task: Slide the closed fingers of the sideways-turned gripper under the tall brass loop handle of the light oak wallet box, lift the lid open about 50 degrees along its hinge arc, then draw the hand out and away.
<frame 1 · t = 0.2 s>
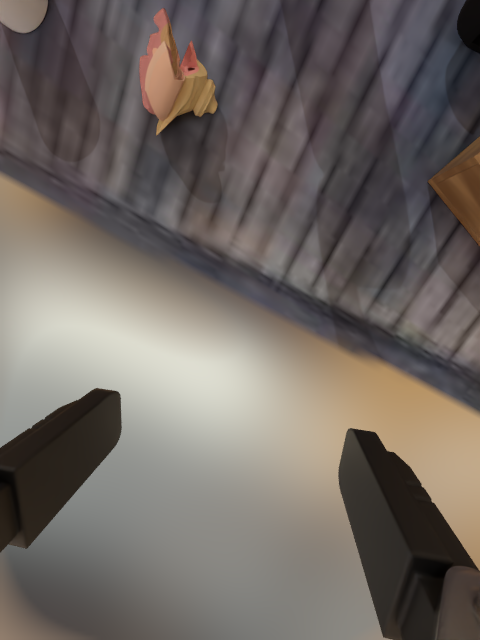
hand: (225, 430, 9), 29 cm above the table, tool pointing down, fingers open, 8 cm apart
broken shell: (181, 106, 33), on the table
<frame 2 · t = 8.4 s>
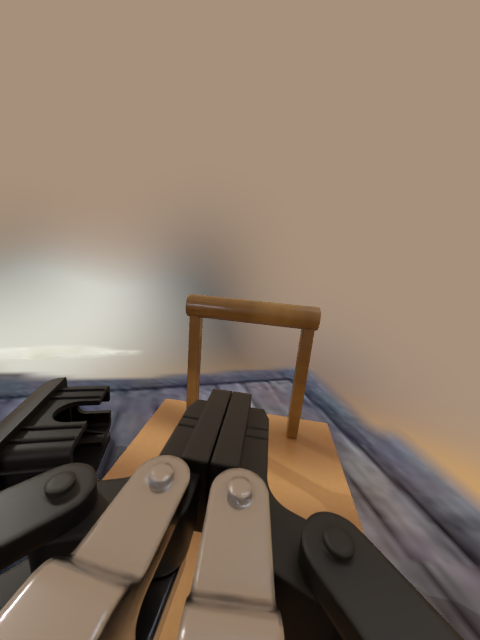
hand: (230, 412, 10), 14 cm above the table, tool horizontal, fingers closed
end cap: (52, 476, 21), on the table
box lid: (229, 438, 10), point 12 cm above the table, hinge at 0.0°
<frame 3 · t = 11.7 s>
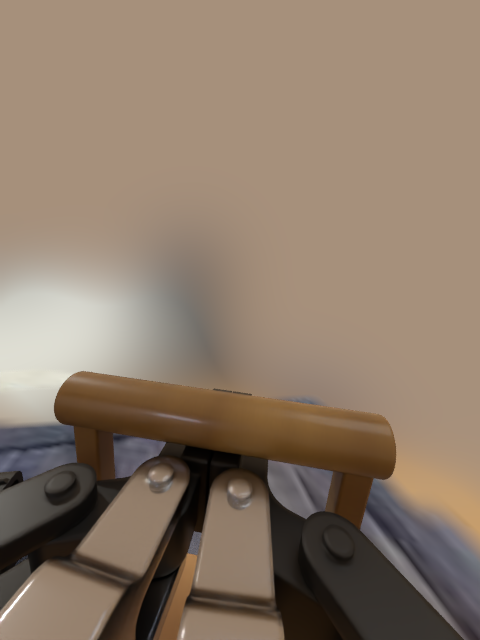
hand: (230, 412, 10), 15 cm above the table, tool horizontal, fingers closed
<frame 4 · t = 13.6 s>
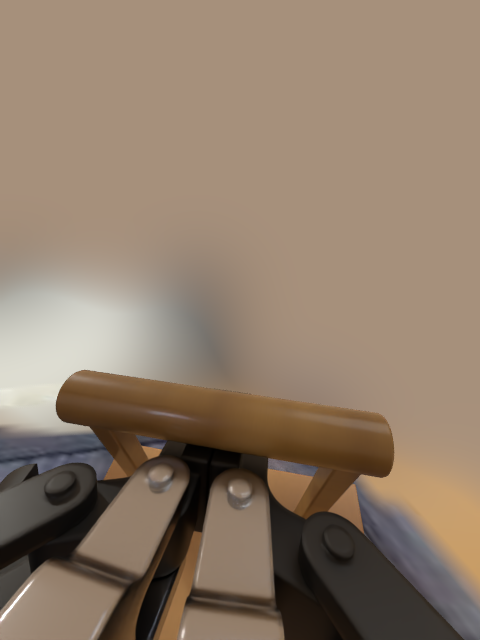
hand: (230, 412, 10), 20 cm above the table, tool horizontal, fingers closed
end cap: (16, 587, 19), on the table
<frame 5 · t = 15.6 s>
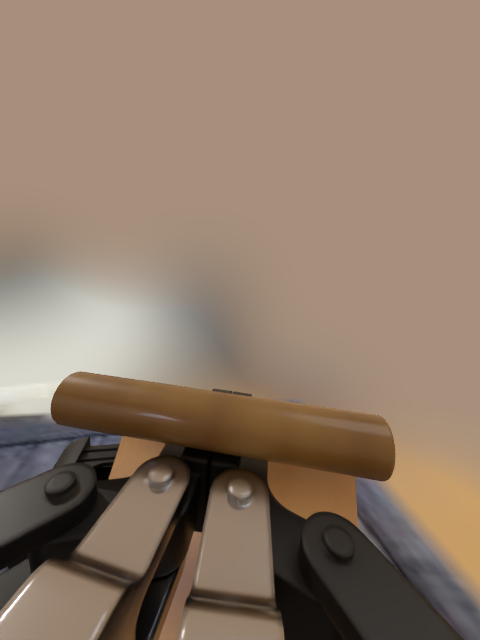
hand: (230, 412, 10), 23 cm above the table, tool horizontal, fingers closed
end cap: (81, 525, 26), on the table
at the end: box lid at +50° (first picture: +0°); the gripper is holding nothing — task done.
